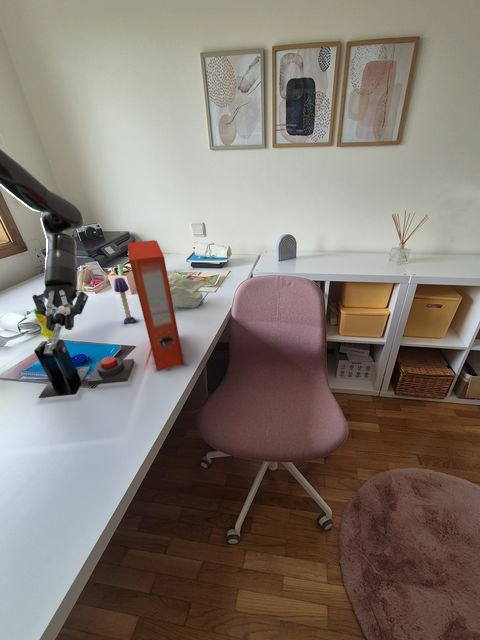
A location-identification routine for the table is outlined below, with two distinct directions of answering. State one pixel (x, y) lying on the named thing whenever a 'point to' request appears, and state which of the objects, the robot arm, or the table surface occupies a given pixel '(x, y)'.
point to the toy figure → (43, 324)
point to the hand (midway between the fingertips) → (60, 329)
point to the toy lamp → (124, 299)
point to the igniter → (108, 362)
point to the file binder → (156, 302)
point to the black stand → (60, 371)
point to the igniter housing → (111, 372)
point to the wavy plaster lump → (185, 291)
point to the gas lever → (55, 334)
